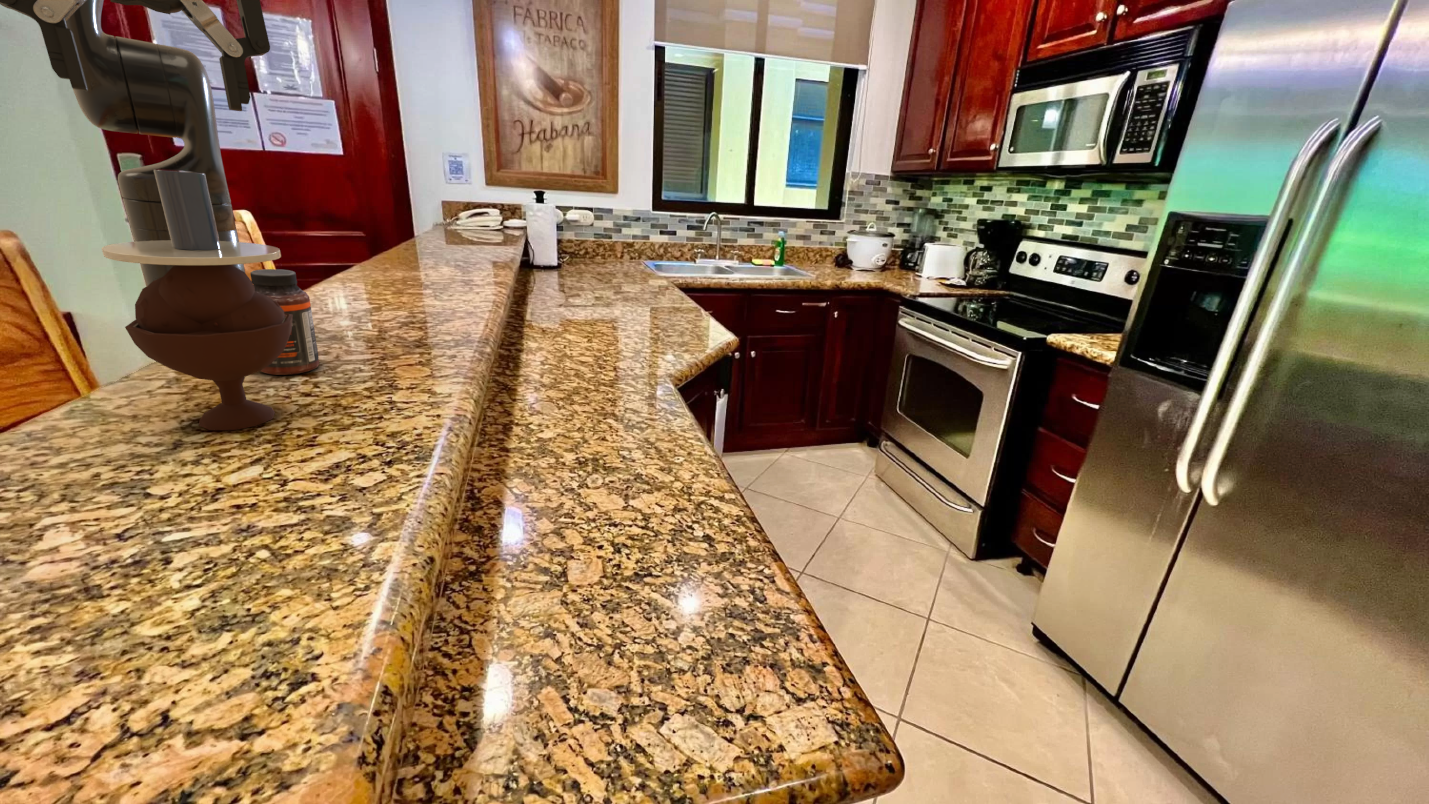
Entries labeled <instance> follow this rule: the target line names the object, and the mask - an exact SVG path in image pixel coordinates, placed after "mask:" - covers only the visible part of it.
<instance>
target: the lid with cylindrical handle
mask: <svg viewBox="0 0 1429 804" xmlns="http://www.w3.org/2000/svg"><path fill="white" fill-rule="evenodd" d="M154 174H155V178H156V182H157V186H158V190H159V194H160V198H161V202H162V206H163V210H164V214H165V218H166V222H167V226H168V230H169V234H170V238H171V240H159V241H137V242H134V241H124V242H116V243H111V244H107V245H104V246H102V247H101V252H102V255H103V257H104V258H106V259H109V260H111V261H116V262H124V263H132V264H140V263H141V264H157V265H234V264H244V265H248V264H259V263H265V262H272V261H276V260H279V259H280V258H282V252H281V250H280V248H278V247H276V246H272V245H267V244H261V243H253V242H242V241H239V242H230V241H219V236H218V231H217V227H216V222H215V217H214V213H213V208H212V204H211V199H210V194H209V190H208V185H207V181H206V176H205V173H201V172H192V171H180V170H165V169H154Z"/></svg>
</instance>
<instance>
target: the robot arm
mask: <svg viewBox="0 0 1429 804" xmlns="http://www.w3.org/2000/svg"><path fill="white" fill-rule="evenodd" d="M104 1H105V0H0V6H2V7H4V8H6V9H9V10H12V11H15V12H17V13H20V14H22V15H24V16H27V17H29V18H31V19H32V20H34V21H35V22H36V23H37V24H38V26H39V28H40V31H41V34H42V37H43V41H44V45H45V48H46V51H47V55H48V59H49V61H50V66H51V69H52V70H53V72H54V74H56V76H57V77H58V78H59V79H63V80H69V82H70V86H71V88H72V90H73V93H74V97H75V99H76V101H77V104H78V106H79V108H80V110H81V112H82V113H83V115H84V116H85V118H86V119H87V120H88V121H89V122H90V123H91V124H92V125H93V126H95V127H97V128H99V129H101V130H104V131H105V130H106V131H110V132H117V133H118V132H119V133H125V134H135V135H137V134H139V135H144V136H145V135H146V136H155V137H163V138H164V137H165V138H166V137H167V138H174V139H181V140H182V141H183V148H182V149H181V150H180V151H179V152H178V153H177V154H175V155H174V156H172V157H170V158H168V159H166V160H163V161H160V162H157V163H153V164H149V165H143V166H138V167H132V168H128V169H124V170H122V171H121V172H119V173H118V174H117V182H118V187H119V190H120V195H121V197H122V202H123V205H124V209H125V213H126V217H127V221H128V225H129V228H130V230H131V235H132V238H133V242H137V241H159V240H171V238H170V234H169V230H168V226H167V222H166V218H165V214H164V210H163V206H162V202H161V198H160V194H159V190H158V186H157V182H156V178H155V174H154V169H165V170H180V171H192V172H201V173H205V176H206V181H207V185H208V190H209V194H210V199H211V204H212V208H213V213H214V217H215V222H216V227H217V231H218V236H219V241H230V242H240V238H239V234H238V229H237V224H236V221H235V217H234V209H233V205H232V200H231V196H230V192H229V187H228V183H227V177H226V173H225V167H224V163H223V157H222V153H221V146H220V137H219V133H218V132H219V131H218V124H217V117H216V108H215V101H214V95H213V89H212V86H211V82H210V78H209V74H208V72H207V70H206V68H205V66H204V64H203V62H202V61H201V59H200V58H199V57H198V56H197V55H196V54H195V53H194V52H192V51H190V50H187V49H184V48H180V47H175V46H170V45H165V44H161V43H154V42H150V41H143V40H139V39H133V38H127V37H123V36H114V35H113V34H112V35H111V34H108V33H105V32H104V31H103V29H102V11H103V6H104ZM109 1H110V2H111V3H114V4H119V5H124V6H142V7H145V8H146V9H149V10H152V11H154V12H156V13H161V14H166V15H171V14H177V13H179V12H182V13H183V14H184V15H185V16H186V17H187V18H188V19H189V21H190V22H191V23H192V24H193V25H194V26H195V27H196V28H197V29H198V30H199V31H200V32H201V33H202V34H203V35H204V36H205V37H206V38H207V40H209V41H210V42H211V43H212V44H213V46H214V47H215V48H216V49H217V50H218V51H219V52H220V53H221V55H220V57H219V58H218V59H219V65H220V70H221V75H222V80H223V85H224V92H225V96H226V103H227V107H228V110H229V111H235V112H242V111H243V105H249V104H250V101H251V92H250V87H249V81H248V75H247V69H246V64H245V63H246V60H247V58H251V57H252V58H253V57H263V56H265V55H266V54H267V53H269V52H270V50H271V45H270V39H269V35H268V31H267V27H266V21H265V18H264V14H263V8H262V4H261V0H236V5H237V9H238V12H239V17H240V21H241V26H242V29H243V34H244V37H237V38H235V37H234V36H233V34H232V33H231V32H230V31H229V30H228V29H227V28H226V27H225V25H224V24H223V23H222V22H221V21H220V19H219V18H218V16H217V15H216V14H215V13H214V12H213V10H212V9H211V8H210V7H209V6H208V5H207V3H205V1H204V0H109ZM139 266H140V268H141V271H142V276H143V281H144V283H145V287H147V286H148V285H149V284H150V283H152V282H153V281H155V280H157V279H159V278H161V277H164V275H165V274H166V273H167V272H168V271H169V270H170V269H171V268H172V267H173V266H174V265H157V264H141V263H139ZM234 266H235V267H237V268H238V269H240V270H242V271H243V272H245V273H246V269H245V264H234Z"/></svg>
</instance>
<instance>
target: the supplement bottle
mask: <svg viewBox="0 0 1429 804" xmlns="http://www.w3.org/2000/svg"><path fill="white" fill-rule="evenodd" d="M250 280H251V282H252V284H253V285H254V287H255V292H256V293H259V294H263V295H265V296H267V297H269V298H270V299H272V300H274V301H276V302H277V303H278V304H279V306H280V307H281V308H282V309H283V310H284V312H285V313H288V314H292V315H293V319H292V331H291V333H290V336H289V339H288V342H287V344H286V346H285V349H284V351H283V352H282V353H281V354H280V355H279V356H278V357H277V358H276V360H275V361H274V362H273V363H272V364H270V365H268V366H267V367H265V368H264V369H262V370H261V371H260V372H261V373H264V374H266V375H267V374H268V375H273V376H288V375H299V374H304V373H307V372H310V371H313V370H315V369H317V368H318V367H319V365H320V356H319V351H318V350H319V349H318V344H317V337H316V331H315V325H314V318H313V310H312V306H311V298H310V296H309V294H308V293H307V292H306V291H304V290H302V289H301V288H300V287H299V286H298V281H297V274H296V272H295V271H293V270H289V269H279V268H276V269H275V268H265V269H264V268H263V269H255V270H252V271H250Z"/></svg>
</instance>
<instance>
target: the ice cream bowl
mask: <svg viewBox="0 0 1429 804" xmlns="http://www.w3.org/2000/svg"><path fill="white" fill-rule="evenodd" d="M134 310H135V311H134V313H135V314H134V315H135V316H134V317H135V319H134V320H132V321H131V322H130V323H128V324H127V325H126V326H124V328H125V330H126V331H127V333H128V335H129V337H130V339H131V340H132V342H133V343H134V345H135V347H136V348H138V349H139V350H140V351H141V352H142V353H143V354H144V355H145V356H146V357H147V358H148V359H150V360H152V361H154V362H157V363H158V364H160V365H162V366H164V367H166V368H168V369H170V370H173V371H175V372H178V373H181V374H184V375H187V376H189V377H193V378H196V379H199V380H206V381H212V382H213V383H214V384H215V385H216V387H218V391H219V396H220V403H218V404H217V405H215V406H213V407H211V408H210V409H208V410H206V411H205V412H203V414H202V415H201V417H200V419H199V421H198V426H199V427H200V428H203V429H205V430H208V431H236V430H241V429H247V428H252V427H257V426H260V425H262V424H264V423H266V422H269V421H271V420H273V419H274V417H275V414H276V412H275V410H274V408H273V407H272V406H270V405H267V404H263V403H261V402H257V401H254V400H250V399H247V396H246V392H245V389H244V388H245V387H244V385H243V384H244V382H245V378H246V377H248V376H252V375H254V374H256V373H259V372H261V370H262V369H264V368H265V367H267V366H268V365H270V364H272V363H273V362H274V361H275V360H276V358H277V357H278V356H279V355H280V354H281V353H282V352H283V351H284V349H285V346H286V344H287V342H288V339H289V336H290V333H291V331H292V319H293V315H292V314H288V313H285V312H284V310H283V309H282V308H281V307H280V306H279V304H278V303H277V302H276V301H274V300H272V299H270V298H269V297H267V296H265V295H263V294H259V293H256V292H255V287H254V285H253V284H252V282H251V277H249V276H248V275H247V273H246V271H245V272H243V271H242V270H240V269H238V268H237V267H235V266H234V265H174V266H173V267H172V268H171V269H170V270H169V271H168V272H167V273H166V274H165V275H164V277H161V278H159V279H157V280H155V281H153V282H152V283H150V284H149V285H148V286H147V287H146V286H145V287H143V288H142V289H141V291H140V293H139V295H138V297H137V299H136V300H135V304H134Z"/></svg>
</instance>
